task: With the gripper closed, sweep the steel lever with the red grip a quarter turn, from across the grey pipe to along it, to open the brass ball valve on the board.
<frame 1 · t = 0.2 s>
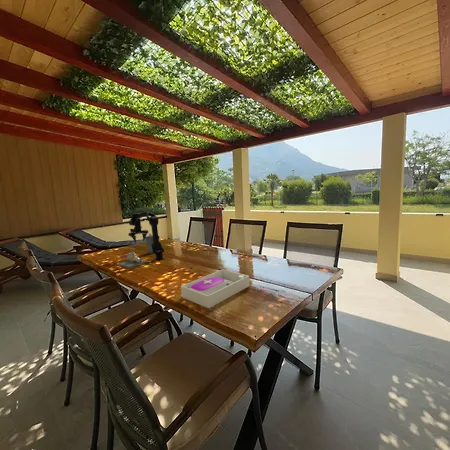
hand: (139, 241, 234), 15 cm above the table, tool pointing down, fingers open, 9 cm apart
valve lever: (127, 255, 206), point 9 cm above the table, hinge at 90.0°
white tray with pad: (216, 292, 143), on the table
valve board: (134, 263, 211), on the table
valve body: (133, 258, 211), on the valve board, point 5 cm above the table
moka pot: (153, 252, 248), on the table
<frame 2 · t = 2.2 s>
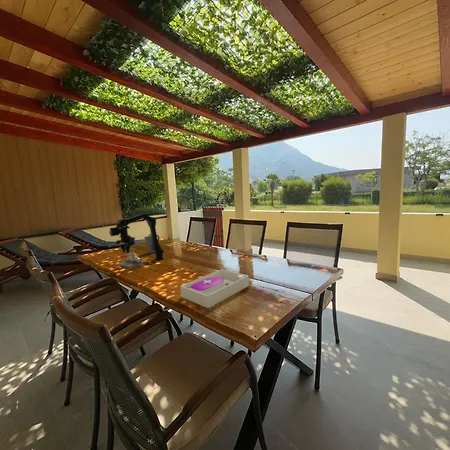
hand: (126, 252, 198), 13 cm above the table, tool pointing down, fingers open, 5 cm apart
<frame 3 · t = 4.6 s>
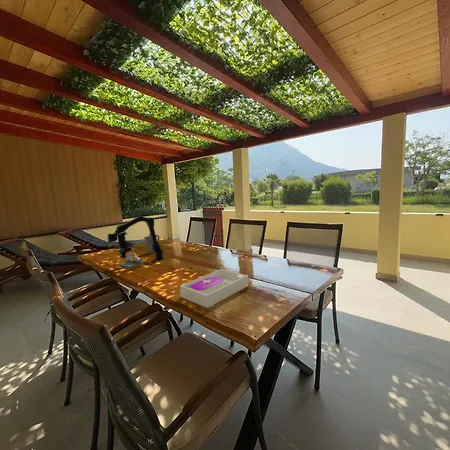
hand: (124, 258, 201), 8 cm above the table, tool pointing down, fingers closed
valve lever: (127, 255, 206), point 9 cm above the table, hinge at 88.7°, touching gripper
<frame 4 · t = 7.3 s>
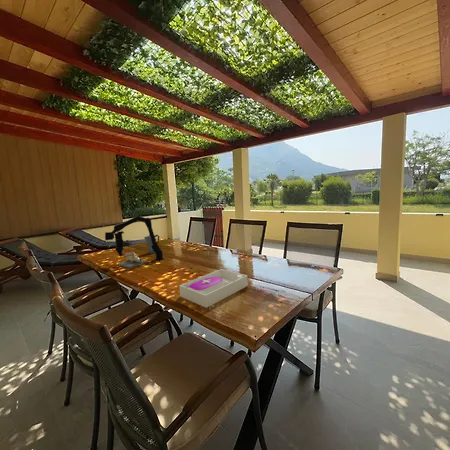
hand: (121, 256, 207), 8 cm above the table, tool pointing down, fingers closed
valve lever: (126, 254, 210), point 9 cm above the table, hinge at 40.3°, touching gripper
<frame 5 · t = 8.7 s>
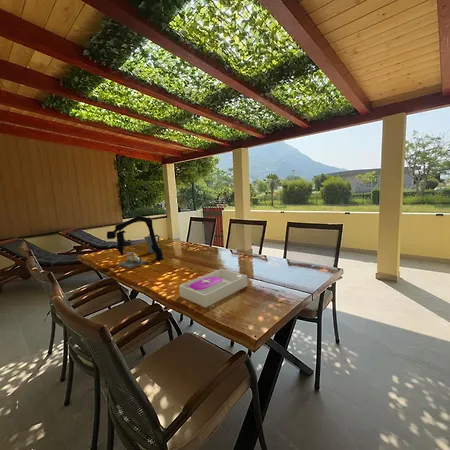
hand: (122, 255, 211), 8 cm above the table, tool pointing down, fingers closed
valve lever: (128, 253, 212), point 9 cm above the table, hinge at 18.0°, touching gripper
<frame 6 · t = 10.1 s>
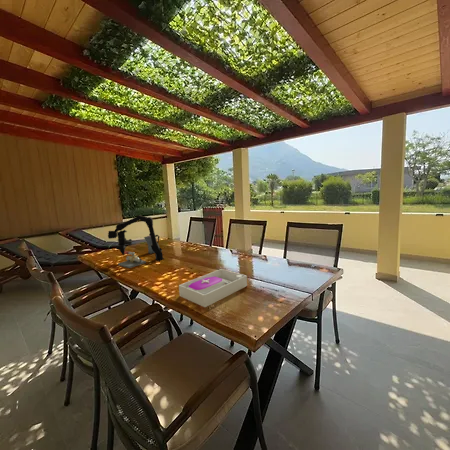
hand: (123, 254, 214), 8 cm above the table, tool pointing down, fingers closed
valve lever: (129, 252, 213), point 9 cm above the table, hinge at 1.0°
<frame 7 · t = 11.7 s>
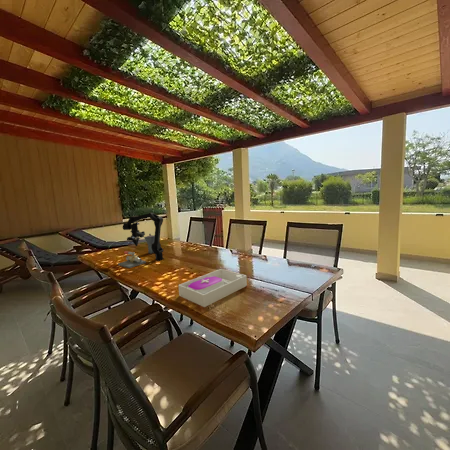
hand: (136, 246, 223), 13 cm above the table, tool pointing down, fingers closed
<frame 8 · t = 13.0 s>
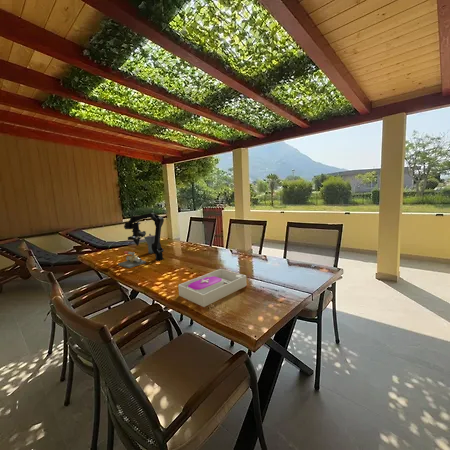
hand: (137, 245, 224), 13 cm above the table, tool pointing down, fingers closed
at the end: valve lever at +1° (first picture: +90°); moka pot moved 0.2 cm from its start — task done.
